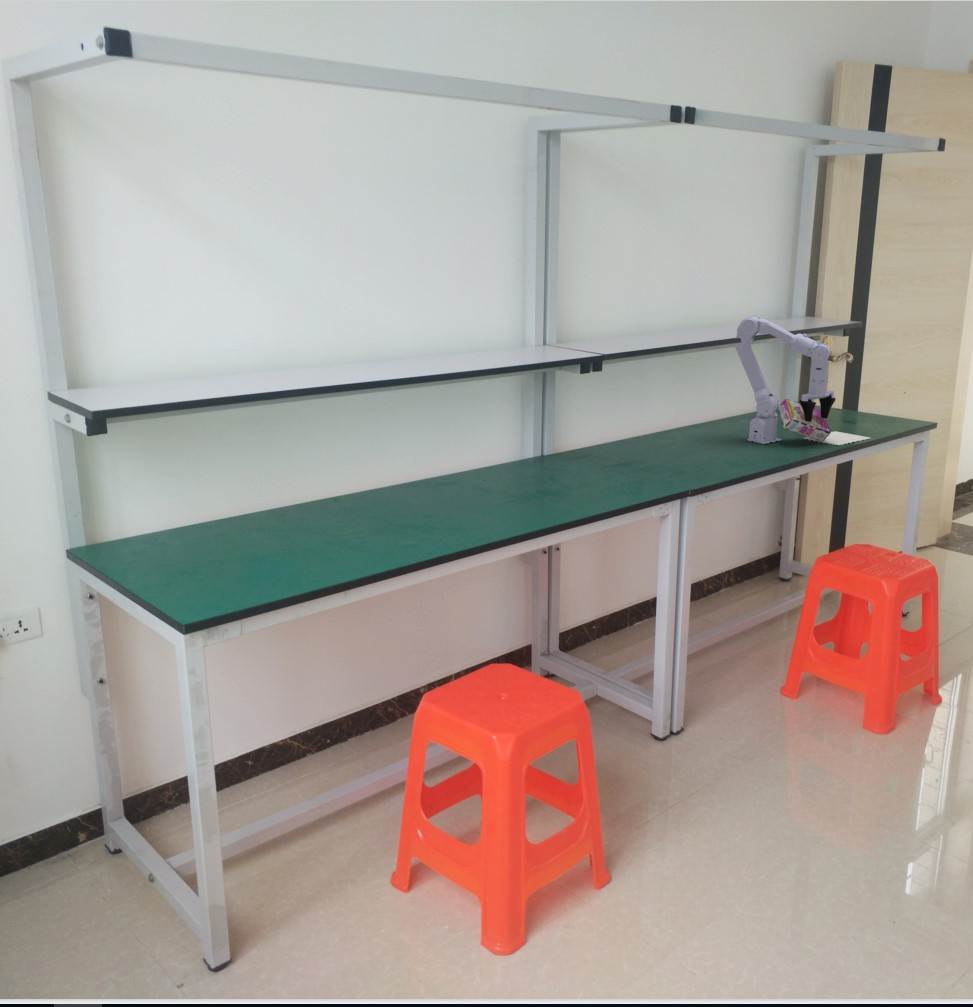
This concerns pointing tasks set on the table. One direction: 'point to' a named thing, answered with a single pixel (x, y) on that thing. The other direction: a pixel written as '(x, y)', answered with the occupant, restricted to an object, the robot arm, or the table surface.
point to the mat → (840, 438)
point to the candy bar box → (803, 421)
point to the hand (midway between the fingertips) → (816, 419)
